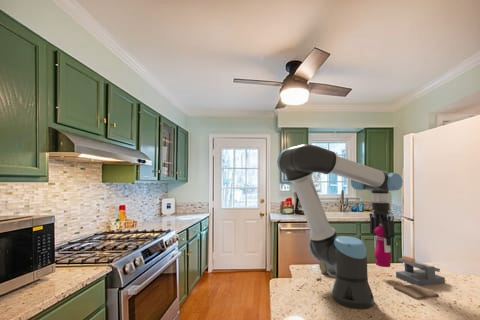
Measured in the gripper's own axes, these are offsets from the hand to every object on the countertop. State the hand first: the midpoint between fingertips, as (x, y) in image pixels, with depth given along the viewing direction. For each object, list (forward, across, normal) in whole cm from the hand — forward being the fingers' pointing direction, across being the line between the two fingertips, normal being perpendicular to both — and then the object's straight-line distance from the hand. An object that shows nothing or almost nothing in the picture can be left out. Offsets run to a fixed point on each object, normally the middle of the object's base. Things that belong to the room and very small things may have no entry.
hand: (382, 250), depth 127 cm
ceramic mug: (+14, +12, +20) cm, 27 cm away
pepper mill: (+7, 0, 0) cm, 7 cm away
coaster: (+13, -17, -1) cm, 21 cm away
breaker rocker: (+7, -6, -14) cm, 17 cm away
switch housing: (+13, -6, -15) cm, 20 cm away
